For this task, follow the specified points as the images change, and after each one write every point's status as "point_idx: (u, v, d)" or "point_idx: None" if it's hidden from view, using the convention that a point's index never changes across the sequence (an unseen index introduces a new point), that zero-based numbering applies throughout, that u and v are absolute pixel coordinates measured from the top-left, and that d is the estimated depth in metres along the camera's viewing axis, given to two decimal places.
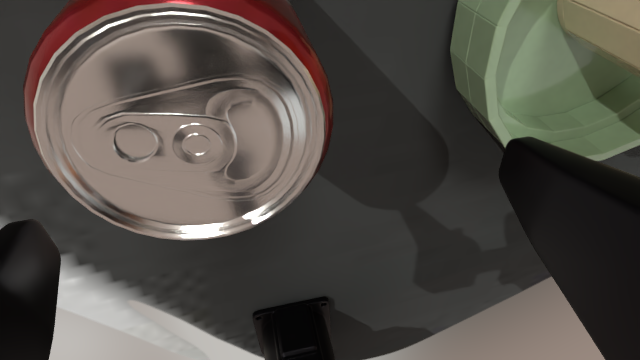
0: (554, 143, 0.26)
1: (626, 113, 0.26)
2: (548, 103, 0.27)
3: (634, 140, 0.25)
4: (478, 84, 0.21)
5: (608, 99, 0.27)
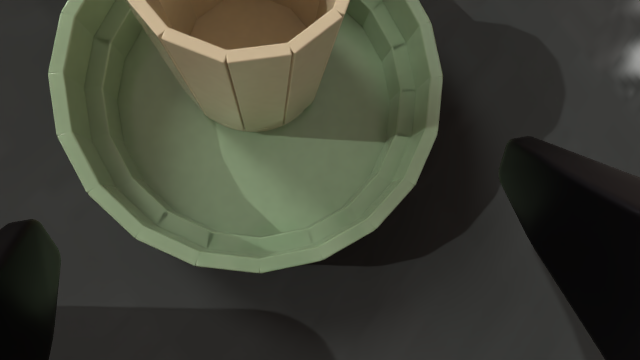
0: (361, 215, 0.19)
1: (407, 125, 0.20)
2: (336, 187, 0.21)
3: (421, 138, 0.18)
4: None
5: (389, 131, 0.21)
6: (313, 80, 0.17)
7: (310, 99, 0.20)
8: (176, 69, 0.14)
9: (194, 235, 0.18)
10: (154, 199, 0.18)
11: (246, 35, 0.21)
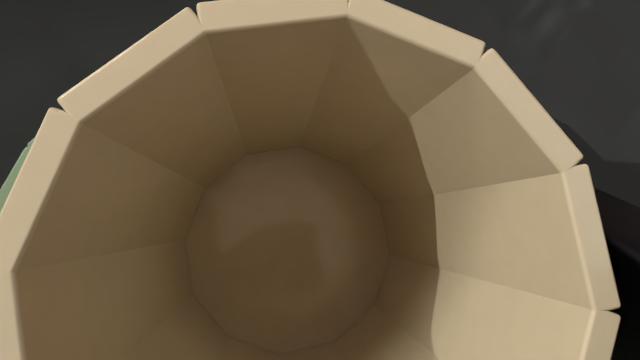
0: None
1: None
2: None
3: None
4: None
5: None
6: None
7: None
8: None
9: None
10: None
11: (280, 210, 0.14)
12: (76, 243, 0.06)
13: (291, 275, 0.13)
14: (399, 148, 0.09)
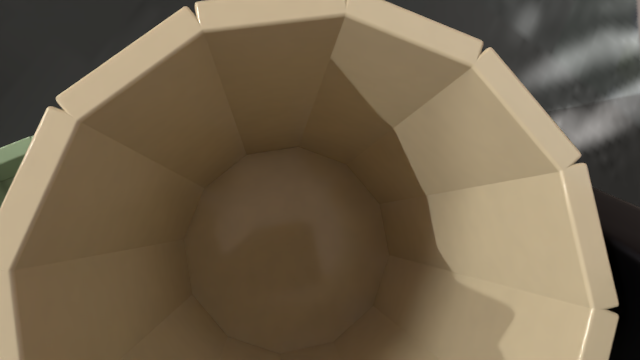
0: None
1: None
2: None
3: None
4: None
5: None
6: None
7: None
8: None
9: None
10: None
11: (280, 210, 0.14)
12: (75, 242, 0.06)
13: (290, 275, 0.13)
14: (398, 148, 0.09)
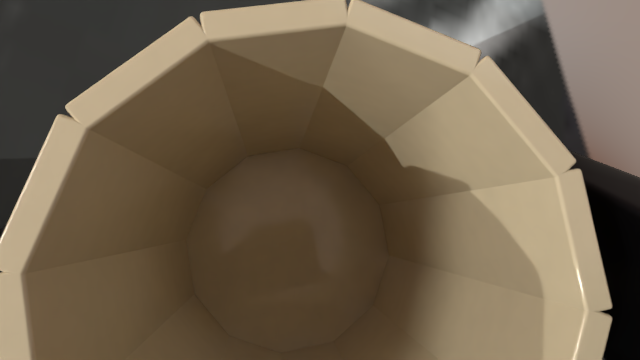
0: None
1: None
2: None
3: None
4: None
5: None
6: None
7: None
8: None
9: None
10: None
11: (281, 211, 0.14)
12: (82, 245, 0.06)
13: (291, 275, 0.14)
14: (398, 151, 0.09)
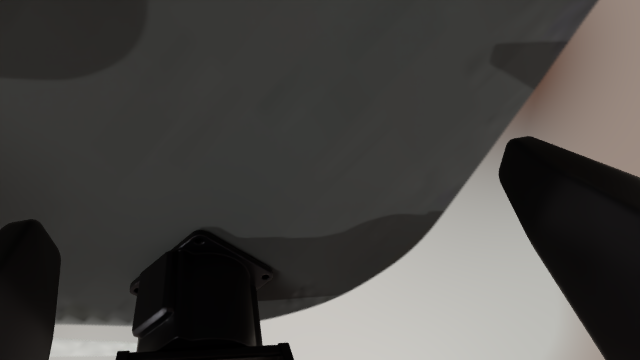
0: None
1: None
2: None
3: None
4: None
5: None
6: None
7: None
8: None
9: None
10: None
11: None
12: None
13: None
14: None
